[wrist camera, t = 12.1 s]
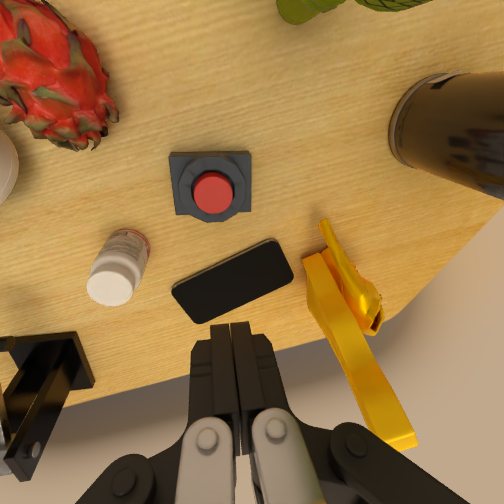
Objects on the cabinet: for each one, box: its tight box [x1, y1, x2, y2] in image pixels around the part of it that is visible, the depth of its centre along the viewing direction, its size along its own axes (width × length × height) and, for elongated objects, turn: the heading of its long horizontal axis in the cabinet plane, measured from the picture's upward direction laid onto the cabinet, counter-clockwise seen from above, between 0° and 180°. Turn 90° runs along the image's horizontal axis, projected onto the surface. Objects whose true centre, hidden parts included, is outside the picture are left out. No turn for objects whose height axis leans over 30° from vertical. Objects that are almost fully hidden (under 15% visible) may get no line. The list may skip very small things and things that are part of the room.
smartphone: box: [171, 239, 294, 324], centre depth 38 cm, size 7×1×15 cm
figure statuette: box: [301, 218, 419, 452], centre depth 30 cm, size 18×8×22 cm, turn 25°
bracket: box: [3, 332, 95, 482], centre depth 35 cm, size 10×8×14 cm
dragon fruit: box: [0, 0, 119, 152], centre depth 22 cm, size 8×8×12 cm
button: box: [194, 172, 233, 214], centre depth 28 cm, size 4×4×2 cm
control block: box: [169, 151, 251, 223], centre depth 30 cm, size 8×6×4 cm
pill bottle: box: [86, 230, 150, 306], centre depth 30 cm, size 5×5×8 cm
